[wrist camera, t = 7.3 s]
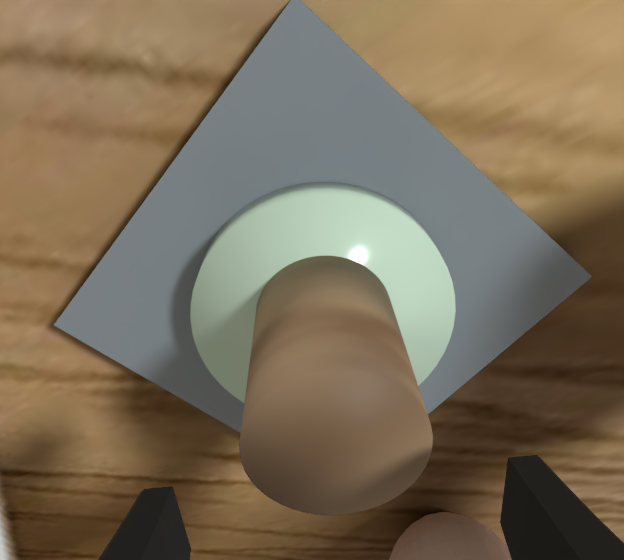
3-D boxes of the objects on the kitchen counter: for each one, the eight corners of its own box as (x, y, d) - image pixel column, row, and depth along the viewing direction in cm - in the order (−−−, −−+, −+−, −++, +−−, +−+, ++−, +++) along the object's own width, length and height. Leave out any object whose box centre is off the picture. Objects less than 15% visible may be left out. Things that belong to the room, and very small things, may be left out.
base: (572, 259, 21) (614, 297, 18) (335, 463, 25) (340, 518, 23) (294, -5, 16) (294, -6, 13) (68, 304, 21) (36, 348, 18)
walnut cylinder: (419, 312, 18) (472, 442, 13) (326, 392, 19) (338, 539, 14) (321, 227, 16) (333, 334, 11) (227, 321, 18) (199, 455, 13)
